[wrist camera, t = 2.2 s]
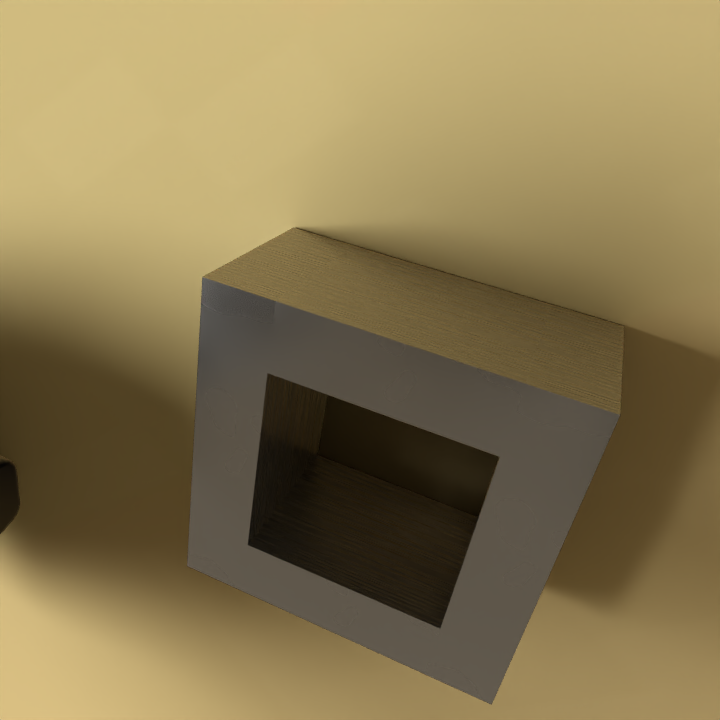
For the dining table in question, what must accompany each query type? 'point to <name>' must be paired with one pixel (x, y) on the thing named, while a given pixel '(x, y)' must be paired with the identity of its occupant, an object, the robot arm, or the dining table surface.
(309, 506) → the grey square ring
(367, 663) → the dining table surface
